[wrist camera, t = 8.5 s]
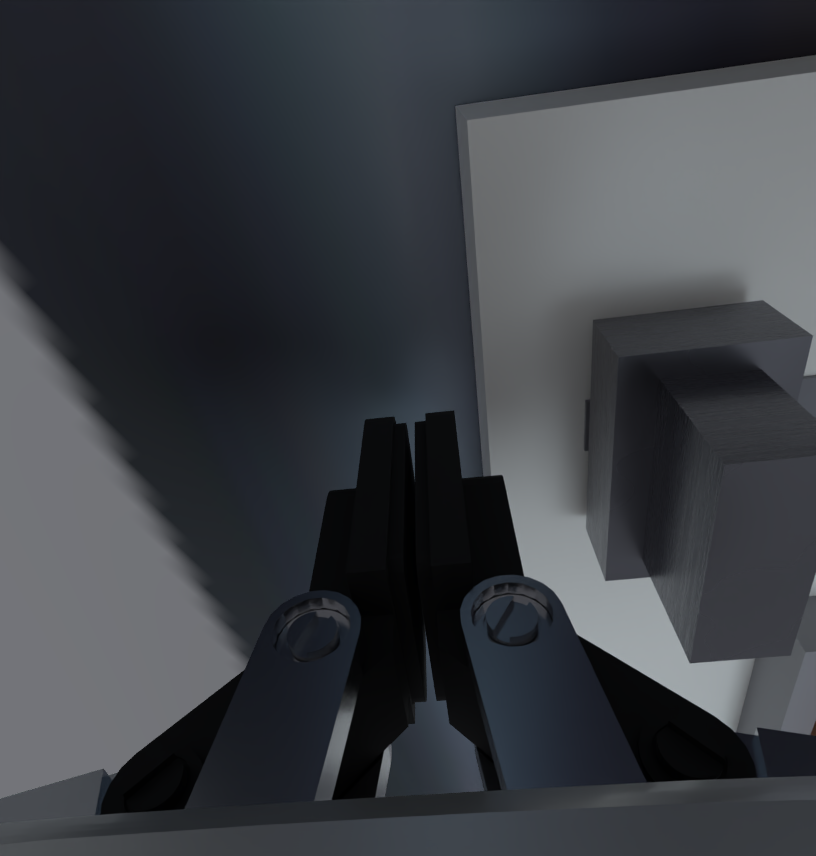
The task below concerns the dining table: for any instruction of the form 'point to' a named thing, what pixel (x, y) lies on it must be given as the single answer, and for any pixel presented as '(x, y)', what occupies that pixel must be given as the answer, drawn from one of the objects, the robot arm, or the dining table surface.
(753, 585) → the dark slider
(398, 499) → the robot arm
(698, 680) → the panel
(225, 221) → the dining table surface
